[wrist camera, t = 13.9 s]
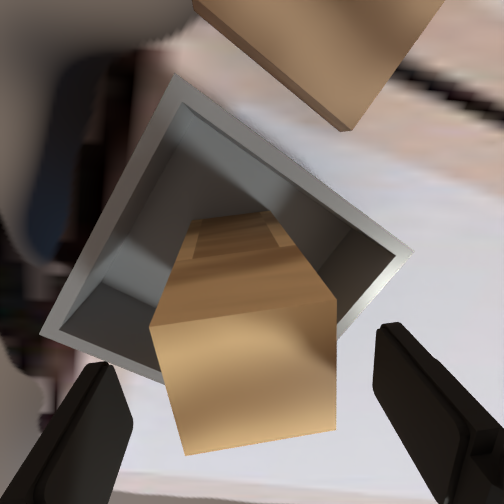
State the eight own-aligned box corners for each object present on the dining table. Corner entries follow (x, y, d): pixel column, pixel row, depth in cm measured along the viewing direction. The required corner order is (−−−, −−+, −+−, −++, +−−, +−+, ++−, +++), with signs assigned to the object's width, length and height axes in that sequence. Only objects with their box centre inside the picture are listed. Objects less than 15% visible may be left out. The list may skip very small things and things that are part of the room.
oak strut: (191, 220, 21) (148, 326, 8) (270, 210, 21) (336, 299, 9) (204, 290, 23) (185, 456, 11) (275, 280, 23) (336, 429, 11)
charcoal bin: (191, 98, 19) (174, 72, 12) (359, 221, 23) (414, 251, 16) (91, 279, 22) (38, 334, 16) (253, 356, 27) (263, 424, 20)
